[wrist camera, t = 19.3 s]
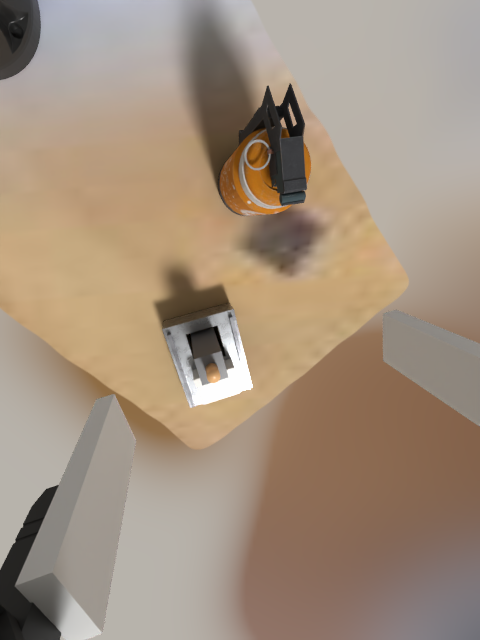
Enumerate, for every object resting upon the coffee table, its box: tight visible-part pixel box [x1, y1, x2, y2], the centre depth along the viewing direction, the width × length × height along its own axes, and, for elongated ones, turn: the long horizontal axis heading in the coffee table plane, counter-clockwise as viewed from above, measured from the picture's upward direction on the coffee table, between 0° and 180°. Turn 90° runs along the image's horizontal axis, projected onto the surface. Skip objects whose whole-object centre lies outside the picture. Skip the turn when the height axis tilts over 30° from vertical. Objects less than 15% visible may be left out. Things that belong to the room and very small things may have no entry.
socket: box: [162, 303, 253, 408], centre depth 50 cm, size 16×12×5 cm
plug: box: [191, 327, 229, 386], centre depth 44 cm, size 4×4×14 cm
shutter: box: [192, 359, 240, 405], centre depth 48 cm, size 7×7×3 cm
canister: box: [218, 83, 311, 216], centre depth 34 cm, size 9×11×20 cm
